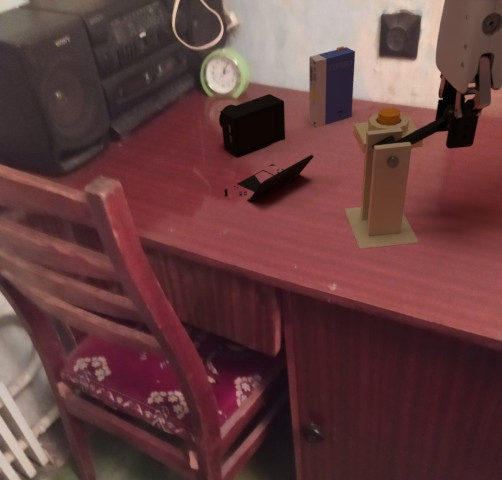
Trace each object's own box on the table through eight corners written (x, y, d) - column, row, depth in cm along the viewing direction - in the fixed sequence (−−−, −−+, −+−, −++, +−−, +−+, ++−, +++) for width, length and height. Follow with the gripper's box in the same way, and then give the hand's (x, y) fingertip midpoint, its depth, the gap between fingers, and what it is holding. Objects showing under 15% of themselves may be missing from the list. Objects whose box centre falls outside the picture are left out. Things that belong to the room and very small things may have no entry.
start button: (396, 116, 100) (397, 106, 99) (401, 125, 98) (403, 115, 97) (375, 118, 100) (376, 108, 99) (380, 127, 98) (381, 117, 97)
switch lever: (468, 114, 73) (461, 92, 71) (477, 125, 70) (471, 102, 68) (378, 161, 76) (369, 141, 74) (384, 173, 74) (375, 152, 72)
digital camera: (267, 129, 107) (266, 90, 103) (285, 139, 104) (284, 100, 99) (220, 147, 104) (216, 108, 99) (237, 157, 100) (233, 118, 95)
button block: (408, 126, 104) (411, 107, 102) (422, 147, 99) (425, 127, 96) (353, 132, 104) (354, 113, 102) (363, 153, 98) (364, 133, 96)
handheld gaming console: (261, 156, 96) (286, 120, 87) (292, 187, 97) (320, 155, 88) (218, 196, 91) (240, 163, 82) (251, 229, 92) (277, 199, 83)
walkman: (343, 112, 110) (346, 44, 102) (351, 117, 109) (355, 49, 100) (307, 122, 108) (307, 54, 100) (315, 128, 106) (316, 59, 98)
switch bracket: (398, 209, 85) (409, 117, 76) (418, 249, 78) (433, 153, 69) (343, 215, 85) (348, 124, 76) (358, 255, 78) (365, 160, 69)
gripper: (556, -14, 54) (509, 167, 67) (488, -52, 66) (459, 108, 79) (476, -6, 54) (444, 174, 67) (422, -45, 66) (404, 113, 79)
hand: (452, 136), depth 73 cm, fingers open, 3 cm apart
